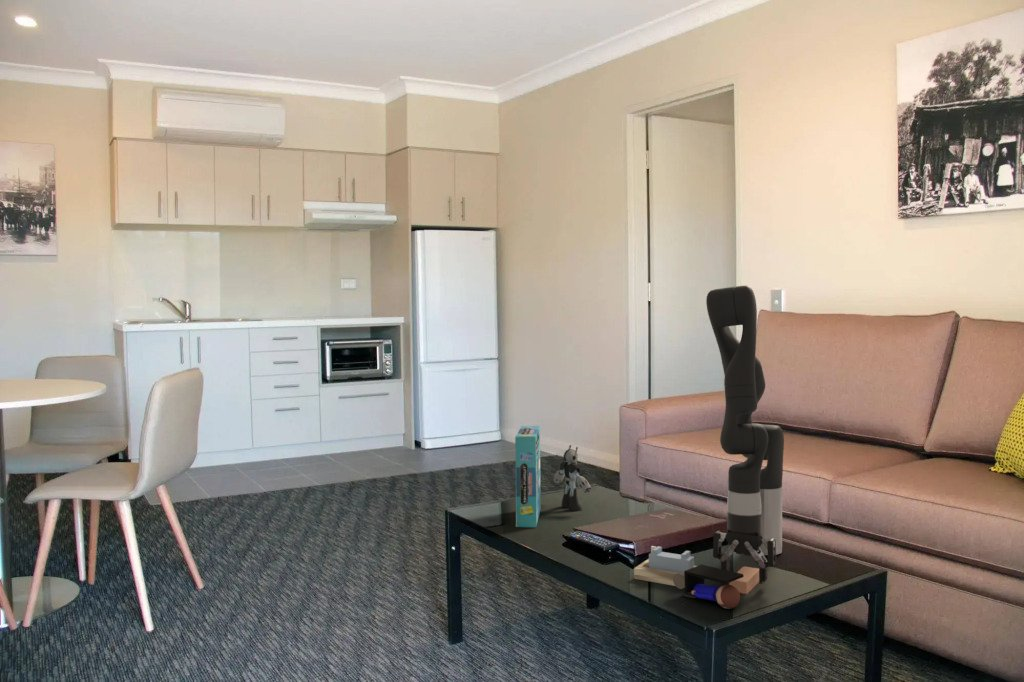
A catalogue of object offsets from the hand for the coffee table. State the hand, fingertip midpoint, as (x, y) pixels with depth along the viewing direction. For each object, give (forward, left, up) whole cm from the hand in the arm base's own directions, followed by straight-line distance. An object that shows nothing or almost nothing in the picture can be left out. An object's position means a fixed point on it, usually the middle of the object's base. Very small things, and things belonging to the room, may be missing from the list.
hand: (744, 580), depth 194 cm
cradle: (+4, -17, -1) cm, 17 cm away
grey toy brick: (+4, -16, 0) cm, 17 cm away
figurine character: (+14, -4, -2) cm, 15 cm away
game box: (-27, -75, -2) cm, 80 cm away
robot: (-45, -70, -1) cm, 83 cm away
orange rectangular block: (0, 0, -2) cm, 2 cm away
